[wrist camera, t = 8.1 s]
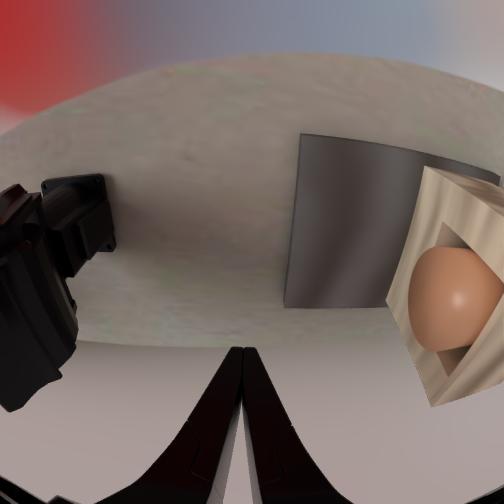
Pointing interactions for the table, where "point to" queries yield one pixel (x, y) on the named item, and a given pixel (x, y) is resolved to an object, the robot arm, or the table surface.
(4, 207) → the robot arm
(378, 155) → the knob mount
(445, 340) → the knob
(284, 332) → the table surface
